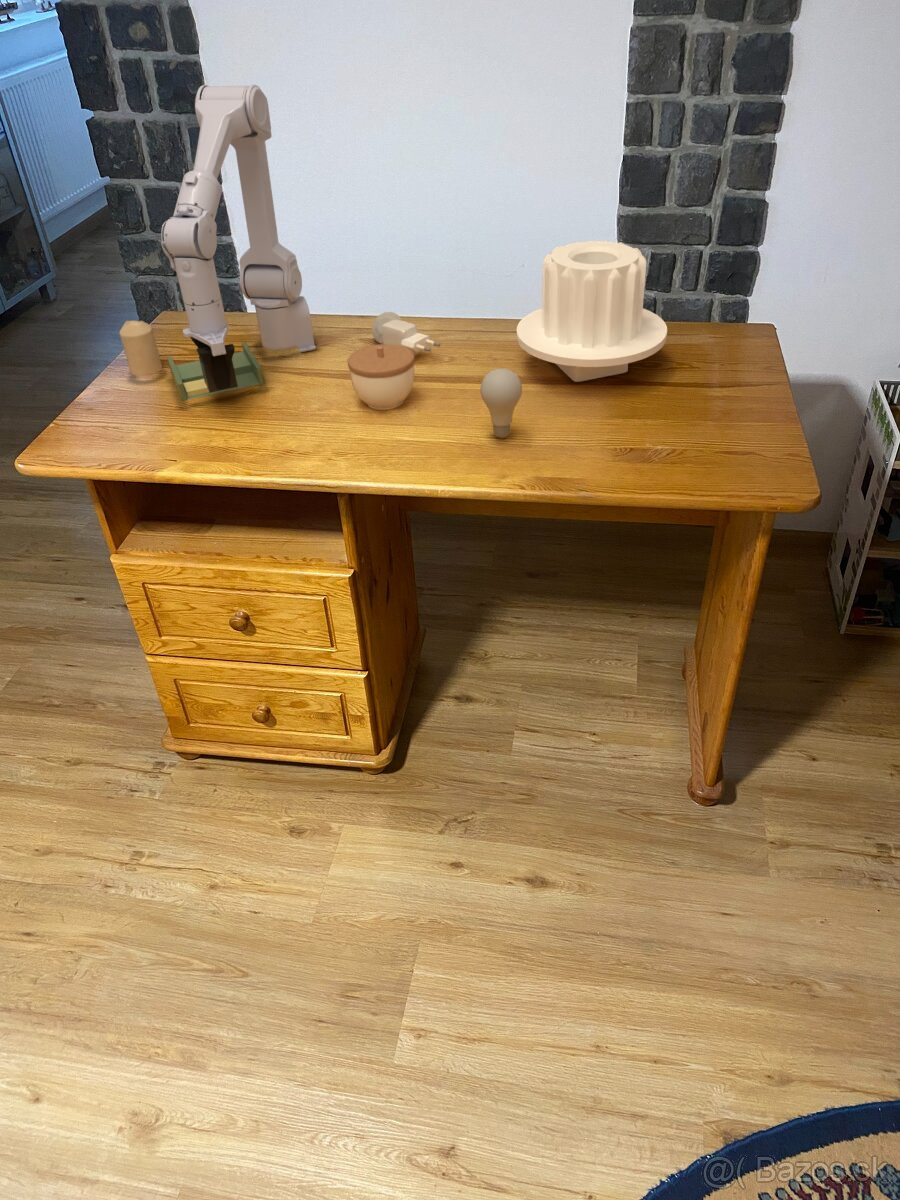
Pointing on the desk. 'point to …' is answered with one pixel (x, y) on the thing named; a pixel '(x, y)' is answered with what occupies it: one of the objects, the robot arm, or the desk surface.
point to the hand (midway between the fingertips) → (220, 381)
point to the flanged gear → (592, 311)
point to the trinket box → (382, 375)
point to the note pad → (195, 387)
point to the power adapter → (406, 336)
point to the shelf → (244, 370)
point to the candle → (140, 348)
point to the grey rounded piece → (379, 323)
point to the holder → (209, 379)
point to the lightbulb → (501, 398)
